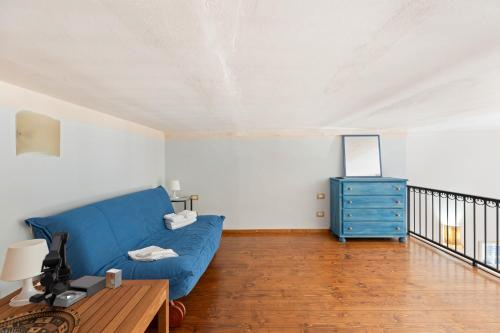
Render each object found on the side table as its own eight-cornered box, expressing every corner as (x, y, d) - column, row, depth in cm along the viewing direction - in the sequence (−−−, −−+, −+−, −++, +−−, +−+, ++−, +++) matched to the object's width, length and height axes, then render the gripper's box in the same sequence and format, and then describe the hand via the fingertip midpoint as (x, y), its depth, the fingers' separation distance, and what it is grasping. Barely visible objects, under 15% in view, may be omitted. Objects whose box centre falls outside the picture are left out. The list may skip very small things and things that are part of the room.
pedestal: (37, 304, 138) (37, 295, 138) (45, 300, 143) (46, 291, 143) (44, 305, 137) (44, 296, 137) (52, 301, 142) (52, 292, 142)
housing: (65, 294, 150) (65, 284, 150) (85, 284, 164) (85, 275, 164) (88, 297, 147) (88, 287, 147) (106, 286, 161) (106, 277, 161)
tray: (47, 304, 138) (47, 297, 138) (69, 293, 151) (69, 286, 151) (67, 307, 135) (67, 299, 135) (87, 295, 148) (88, 288, 148)
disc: (68, 294, 147) (68, 291, 147) (79, 295, 146) (79, 292, 146) (55, 301, 139) (55, 298, 140) (66, 302, 138) (66, 299, 138)
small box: (105, 287, 160) (105, 271, 160) (112, 283, 165) (112, 268, 165) (114, 288, 157) (115, 272, 158) (121, 285, 163) (121, 269, 163)
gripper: (45, 288, 123) (44, 318, 122) (78, 273, 141) (77, 300, 140) (28, 286, 125) (27, 316, 124) (62, 271, 143) (62, 298, 142)
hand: (50, 307), depth 133 cm, fingers closed
